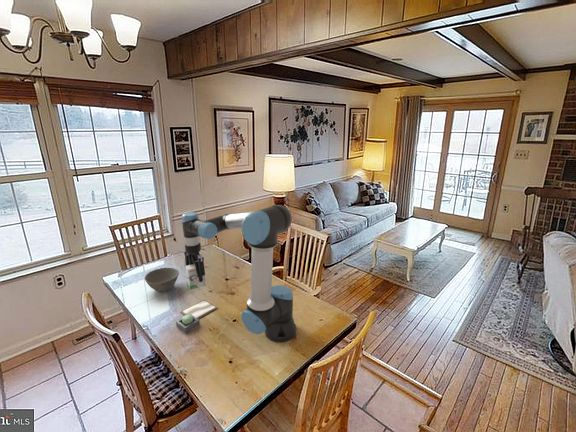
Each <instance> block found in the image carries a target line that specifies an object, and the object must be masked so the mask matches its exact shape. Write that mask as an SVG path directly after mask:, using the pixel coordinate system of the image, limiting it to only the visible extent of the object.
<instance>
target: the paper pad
mask: <svg viewBox="0 0 576 432" xmlns="http://www.w3.org/2000/svg"><path fill="white" fill-rule="evenodd" d="M217 309H218V306H216V305H214V304H212V303H211V302H210V301H208V300H206V299H203V300H201V301H198V302H196V303H194V304H192V305H191V306H189V307H187V308H185V309H183V310H181V311H180V314H181V315H183V316H185V315H189V314H191V315H193V316H194V317H196V318H197V319H199V320H200V319H201V318H203V317H205V316H207V315H209V314H211V313H212V312H214V311H215V310H217Z"/></svg>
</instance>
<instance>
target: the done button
mask: <svg viewBox="0 0 576 432" xmlns="http://www.w3.org/2000/svg"><path fill="white" fill-rule="evenodd" d="M181 318H182V324H183V325H185V326H187V325H189V324H191V323H192V322H193V316H192V315H185V316H184V315H183V316H182V317H181Z"/></svg>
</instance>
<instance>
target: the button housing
mask: <svg viewBox="0 0 576 432" xmlns="http://www.w3.org/2000/svg"><path fill="white" fill-rule="evenodd" d="M189 315H191V314H189ZM192 316H193V315H192ZM200 323H201V322H200V319H197V318H196V317H194V316H193V322H192V323H191V324H189V325H187V326H185V325H183V324H182V317H181V318H180V319H177V320H176V321H175V327H176V328H177V329H179V330H180V331H182V333H184V334H188V333H189V332H190V331H191V332H192V331H193V330H194V329H196V328H198V327H199V326H200V325H201V324H200Z"/></svg>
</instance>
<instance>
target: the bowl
mask: <svg viewBox="0 0 576 432" xmlns="http://www.w3.org/2000/svg"><path fill="white" fill-rule="evenodd" d="M179 272H180V271H179V270H178V269H177V268H174V267H161V268H156V269H153V270H151V271H149V272H148V273H146V274H145V275H144V280H145V282H146V284H147V285H148V286H149V288H151V289H153V290H154V291H156V292H168V291H169V290H171V289H173V287H174V286H175V284H176V282H177V281H178V278H179V275H180V273H179Z"/></svg>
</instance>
